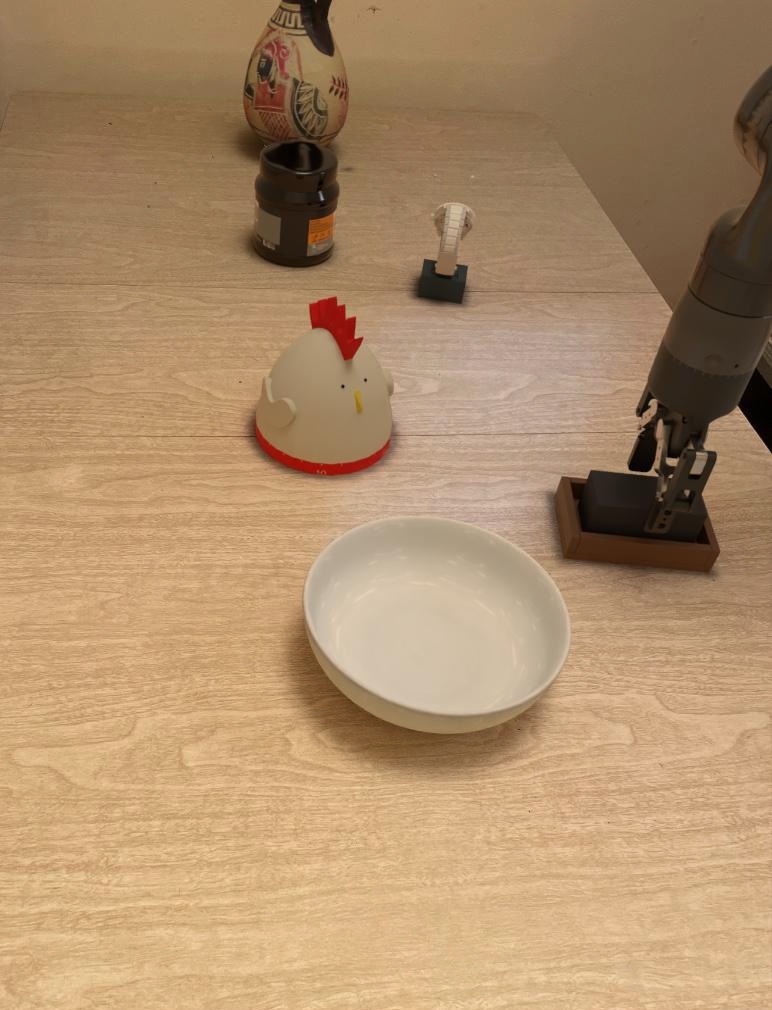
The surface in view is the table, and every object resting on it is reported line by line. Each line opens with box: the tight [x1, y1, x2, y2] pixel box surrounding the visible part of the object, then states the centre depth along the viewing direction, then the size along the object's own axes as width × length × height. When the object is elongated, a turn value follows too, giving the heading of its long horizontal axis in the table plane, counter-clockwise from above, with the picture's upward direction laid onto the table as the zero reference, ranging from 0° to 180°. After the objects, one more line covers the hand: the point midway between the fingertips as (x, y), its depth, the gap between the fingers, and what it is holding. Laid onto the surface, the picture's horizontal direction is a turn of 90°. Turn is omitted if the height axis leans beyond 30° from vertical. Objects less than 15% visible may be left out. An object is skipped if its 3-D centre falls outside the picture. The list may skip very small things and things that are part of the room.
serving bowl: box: [301, 514, 573, 735], centre depth 77 cm, size 21×21×7 cm
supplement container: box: [252, 141, 341, 268], centre depth 120 cm, size 10×10×12 cm
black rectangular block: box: [577, 469, 709, 543], centre depth 90 cm, size 10×5×4 cm, turn 87°
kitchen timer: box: [254, 295, 395, 476], centre depth 93 cm, size 14×14×15 cm
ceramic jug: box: [242, 0, 350, 149], centre depth 134 cm, size 17×15×30 cm
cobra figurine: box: [416, 202, 476, 305], centre depth 116 cm, size 6×8×11 cm
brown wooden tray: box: [553, 475, 721, 574], centre depth 91 cm, size 14×9×3 cm, turn 87°
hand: (645, 498), depth 88 cm, fingers open, 8 cm apart
